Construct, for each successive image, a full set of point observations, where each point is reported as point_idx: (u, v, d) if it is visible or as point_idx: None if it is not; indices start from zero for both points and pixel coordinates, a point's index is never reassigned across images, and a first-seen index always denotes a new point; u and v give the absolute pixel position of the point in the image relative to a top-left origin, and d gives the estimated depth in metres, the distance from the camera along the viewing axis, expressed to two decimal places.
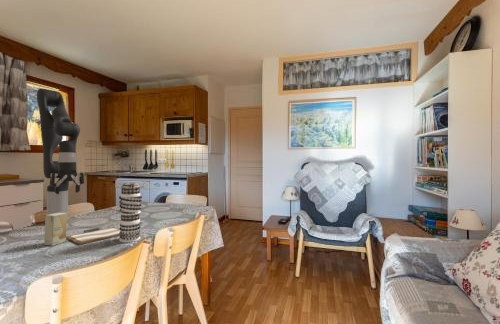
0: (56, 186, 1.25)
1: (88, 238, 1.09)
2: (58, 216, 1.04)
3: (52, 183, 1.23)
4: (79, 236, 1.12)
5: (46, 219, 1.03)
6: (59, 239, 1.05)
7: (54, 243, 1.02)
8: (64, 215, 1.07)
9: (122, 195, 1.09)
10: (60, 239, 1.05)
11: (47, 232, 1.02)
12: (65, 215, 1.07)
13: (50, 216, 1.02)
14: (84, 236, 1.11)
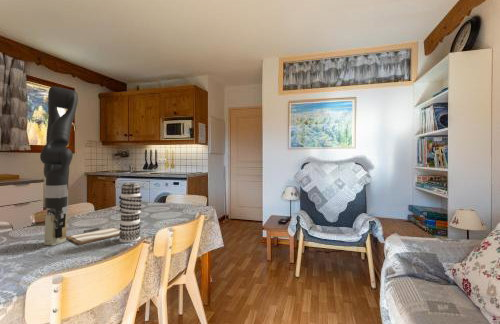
0: None
1: (88, 238, 1.09)
2: None
3: None
4: (79, 236, 1.12)
5: (46, 219, 1.03)
6: (59, 239, 1.05)
7: (54, 243, 1.02)
8: None
9: (122, 195, 1.09)
10: (60, 239, 1.05)
11: (47, 232, 1.02)
12: None
13: (50, 216, 1.02)
14: (84, 236, 1.11)
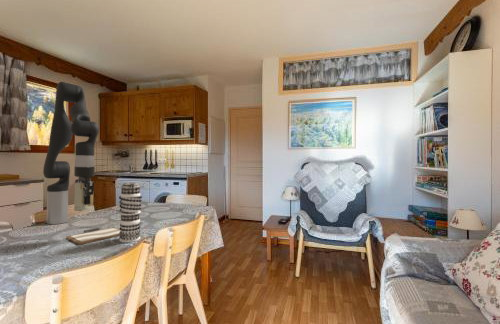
0: (90, 195, 1.11)
1: (88, 238, 1.09)
2: None
3: None
4: (79, 236, 1.12)
5: (76, 187, 1.10)
6: (87, 206, 1.12)
7: (83, 209, 1.10)
8: None
9: (122, 195, 1.09)
10: (88, 206, 1.12)
11: (77, 199, 1.10)
12: None
13: (79, 184, 1.10)
14: (84, 236, 1.11)
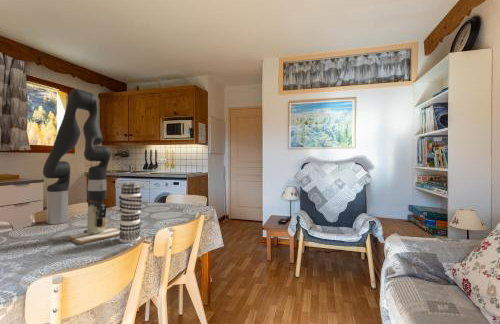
0: (102, 218, 1.16)
1: (88, 238, 1.09)
2: None
3: None
4: (79, 236, 1.12)
5: (89, 210, 1.15)
6: (99, 228, 1.16)
7: (95, 232, 1.14)
8: None
9: (122, 195, 1.09)
10: (100, 228, 1.17)
11: (89, 221, 1.14)
12: None
13: (92, 207, 1.14)
14: (84, 236, 1.11)
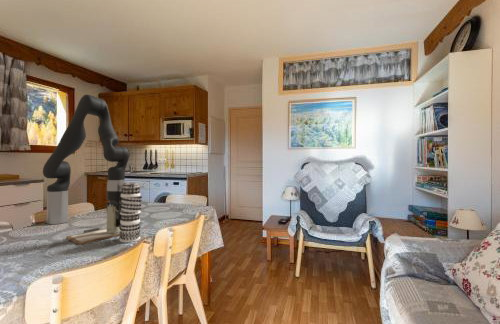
0: None
1: (88, 238, 1.09)
2: None
3: None
4: (79, 236, 1.12)
5: (108, 210, 1.16)
6: (118, 228, 1.17)
7: (115, 231, 1.15)
8: None
9: (122, 195, 1.09)
10: (119, 228, 1.18)
11: (109, 221, 1.15)
12: None
13: (112, 207, 1.15)
14: (84, 236, 1.11)
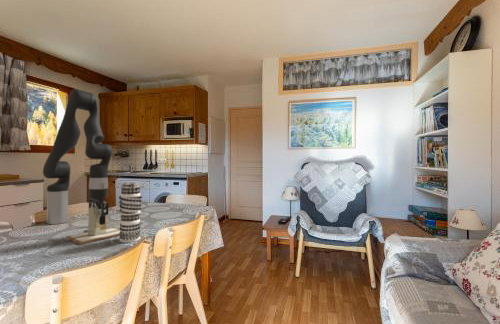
0: (105, 215, 1.13)
1: (88, 238, 1.09)
2: None
3: None
4: (79, 236, 1.12)
5: (89, 211, 1.13)
6: (100, 230, 1.15)
7: (96, 233, 1.13)
8: None
9: (122, 195, 1.09)
10: (101, 230, 1.15)
11: (90, 223, 1.13)
12: None
13: (93, 209, 1.13)
14: (84, 236, 1.11)
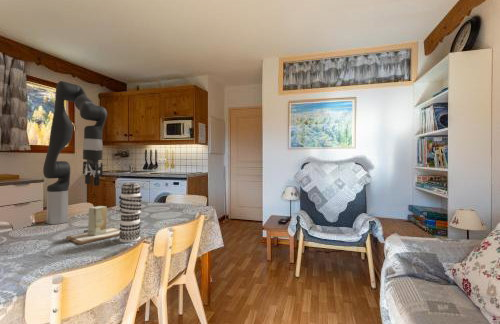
0: None
1: (88, 238, 1.09)
2: (100, 209, 1.14)
3: None
4: (79, 236, 1.12)
5: (89, 211, 1.13)
6: (100, 230, 1.15)
7: (96, 233, 1.13)
8: (104, 208, 1.17)
9: (122, 195, 1.09)
10: (101, 230, 1.15)
11: (90, 223, 1.13)
12: (105, 208, 1.17)
13: (93, 209, 1.13)
14: (84, 236, 1.11)
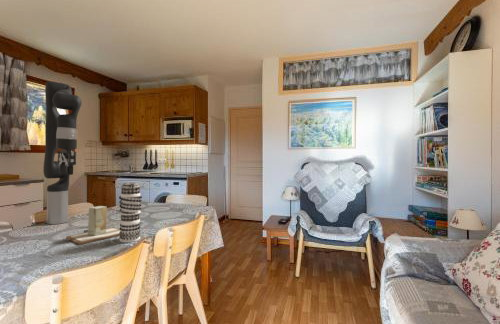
0: None
1: (88, 238, 1.09)
2: (100, 209, 1.14)
3: None
4: (79, 236, 1.12)
5: (89, 211, 1.13)
6: (100, 230, 1.15)
7: (96, 233, 1.13)
8: (104, 208, 1.17)
9: (122, 195, 1.09)
10: (101, 230, 1.15)
11: (90, 223, 1.13)
12: (105, 208, 1.17)
13: (93, 209, 1.13)
14: (84, 236, 1.11)
